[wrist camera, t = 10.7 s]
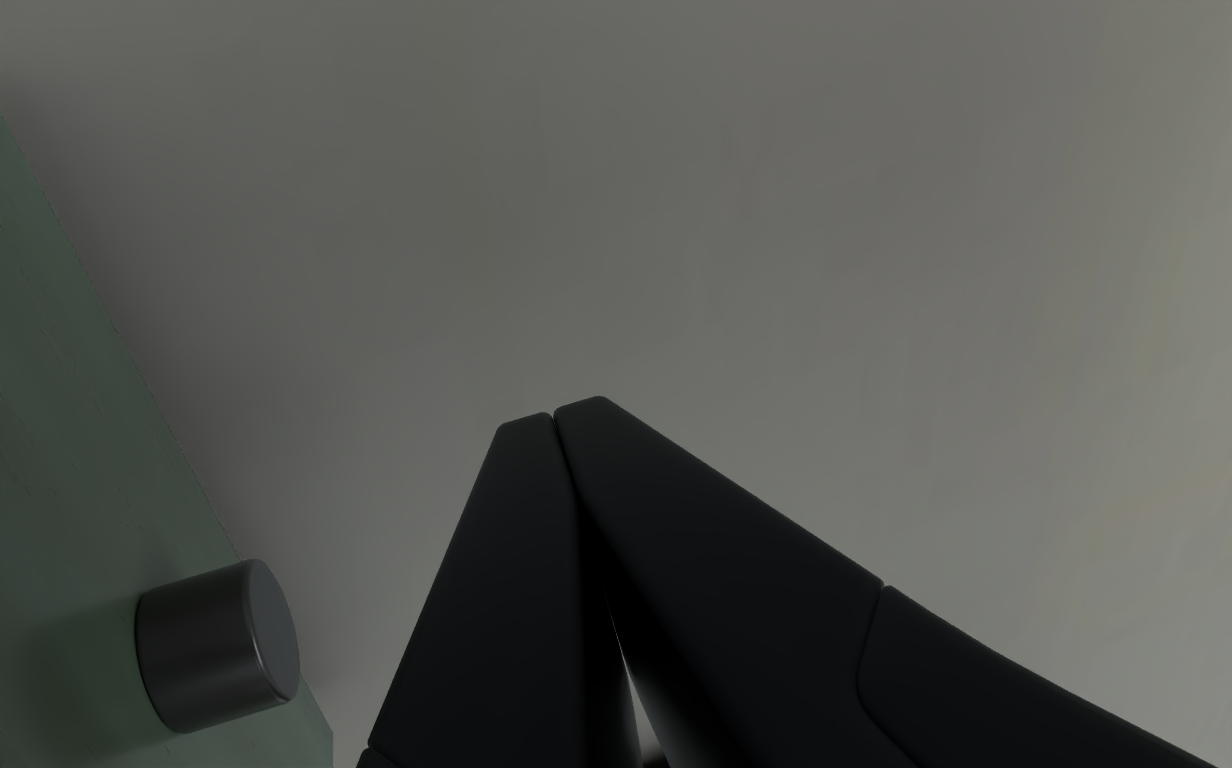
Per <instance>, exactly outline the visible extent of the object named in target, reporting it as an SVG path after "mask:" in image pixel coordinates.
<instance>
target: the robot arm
mask: <svg viewBox="0 0 1232 768" xmlns="http://www.w3.org/2000/svg"><path fill="white" fill-rule="evenodd" d="M553 418H554V421H553ZM553 418H552V416H551V415H549V414H548V413H545V412H541V413H537V414H534V415H530V416H527V417H523V418H520V419H517V420H513V421H510V422H506V423H504V424H502V425H501V426H500V427H499V428H498V429H497V431H496V433H495V436H494V438H493V441H492V443H491V445H490V448H489V450H488V453H487V455H486V457H485V460H484V462H483V465H482V467H481V469H480V472H479V474H478V477H477V479H476V481H475V484H474V486H473V489H472V491H471V493H470V496H469V498H468V501H467V503H466V506H465V508H464V510H463V513H462V515H461V518H460V520H459V522H458V525H457V527H456V530H455V532H454V534H453V537H452V539H451V542H450V544H449V546H448V549H447V551H446V554H445V556H444V558H443V561H442V563H441V566H440V568H439V571H438V573H437V575H436V578H435V580H434V583H433V585H432V587H431V590H430V592H429V595H428V597H427V599H426V602H425V604H424V607H423V609H422V611H421V614H420V616H419V619H418V621H417V623H416V626H415V628H414V631H413V633H412V635H411V638H410V640H409V643H408V645H407V647H406V650H405V652H404V655H403V657H402V659H401V662H400V664H399V667H398V669H397V672H396V674H395V676H394V679H393V681H392V684H391V686H390V688H389V691H388V693H387V696H386V698H385V700H384V703H383V705H382V708H381V710H380V712H379V715H378V717H377V720H376V722H375V724H374V727H373V729H372V732H371V734H370V736H369V739H368V746H369V748H367V749H365V750H364V751H363V752H362V754H361V756H360V759H359V761H358V764H357V766H356V768H643V763H642V757H641V751H640V745H639V738H638V732H637V726H636V719H635V713H634V707H633V701H632V696H631V691H630V686H629V680H628V676H627V672H626V668H625V664H624V661H623V657H622V653H623V656H624V659H625V662H626V665H627V668H628V671H629V674H630V677H631V679H632V681H633V684H634V686H635V689H636V691H637V694H638V696H639V698H640V701H641V703H642V705H643V708H644V710H645V712H646V714H647V716H648V719H649V721H650V723H651V725H652V728H653V730H654V732H655V734H656V736H657V739H658V741H659V743H660V745H661V747H662V750H663V752H664V754H665V756H666V758H667V761H668V763H669V764H668V765H665V766H662V767H659V768H1218V767H1216V766H1214V765H1212V764H1210V763H1208V762H1206V761H1204V760H1202V759H1200V758H1198V757H1196V756H1194V755H1192V754H1190V753H1188V752H1186V751H1184V750H1182V749H1180V748H1178V747H1176V746H1174V745H1173V744H1171V743H1169V742H1167V741H1165V740H1163V739H1161V738H1159V737H1157V736H1155V735H1153V734H1151V733H1149V732H1147V731H1145V730H1143V729H1141V728H1139V727H1137V726H1135V725H1133V724H1131V723H1129V722H1128V721H1126V720H1124V719H1122V718H1120V717H1118V716H1116V715H1114V714H1112V713H1110V712H1108V711H1106V710H1104V709H1102V708H1100V707H1098V706H1096V705H1094V704H1092V703H1090V702H1088V701H1086V700H1084V699H1083V698H1081V697H1079V696H1077V695H1075V694H1073V693H1071V692H1069V691H1067V690H1065V689H1063V688H1062V687H1060V686H1058V685H1056V684H1054V683H1052V682H1051V681H1049V680H1047V679H1045V678H1043V677H1041V676H1039V675H1038V674H1036V673H1034V672H1032V671H1030V670H1028V669H1027V668H1025V667H1023V666H1021V665H1019V664H1017V663H1016V662H1014V661H1012V660H1010V659H1008V658H1006V657H1004V656H1003V655H1001V654H999V653H997V652H995V651H993V650H992V649H990V648H989V647H987V646H985V645H984V644H982V643H980V642H979V641H977V640H976V639H974V638H972V637H971V636H969V635H968V634H966V633H964V632H963V631H961V630H959V629H958V628H956V627H955V626H953V625H951V624H950V623H948V622H946V621H945V620H943V619H942V618H940V617H938V616H937V615H935V614H934V613H932V612H930V611H929V610H927V609H926V608H924V607H923V606H921V605H920V604H918V603H917V602H915V601H914V600H912V599H911V598H909V597H908V596H906V595H905V594H903V593H902V592H900V591H899V590H897V589H896V588H894V587H892V586H885V587H884V583H883V581H882V580H881V579H880V578H878V577H877V576H875V575H874V574H872V573H871V572H869V571H868V570H866V569H865V568H863V567H862V566H860V565H859V564H857V563H856V562H854V561H852V560H851V559H849V558H848V557H846V556H845V555H843V554H842V553H840V552H839V551H837V550H836V549H834V548H833V547H831V546H830V545H828V544H827V543H825V542H824V541H822V540H821V539H819V538H818V537H816V536H815V535H813V534H812V533H810V532H809V531H807V530H806V529H804V528H803V527H801V526H800V525H798V524H797V523H795V522H794V521H792V520H790V519H789V518H787V517H786V516H784V515H783V514H781V513H780V512H778V511H777V510H775V509H774V508H772V507H771V506H769V505H768V504H766V503H765V502H763V501H762V500H760V499H759V498H757V497H756V496H754V495H753V494H751V493H750V492H748V491H747V490H745V489H744V488H742V487H741V486H739V485H738V484H736V483H735V482H733V481H731V480H730V479H728V478H727V477H725V476H724V475H722V474H721V473H719V472H718V471H716V470H715V469H713V468H712V467H710V466H709V465H707V464H706V463H704V462H703V461H701V460H700V459H698V458H697V457H695V456H694V455H692V454H691V453H689V452H688V451H686V450H685V449H683V448H682V447H680V446H679V445H677V444H676V443H674V442H672V441H671V440H669V439H668V438H666V437H665V436H663V435H662V434H660V433H659V432H657V431H656V430H654V429H653V428H651V427H650V426H648V425H647V424H645V423H644V422H642V421H641V420H639V419H638V418H636V417H635V416H633V415H632V414H630V413H629V412H627V411H626V410H624V409H623V408H621V407H620V406H618V405H617V404H615V403H613V402H612V401H610V400H609V399H607V398H606V397H603V396H595V397H591V398H588V399H584V400H581V401H578V402H574V403H571V404H568V405H564V406H561V407H559V408H557V409H556V410H555V411H554V415H553ZM554 423H555V424H554ZM555 426H556V427H555ZM609 610H610V611H609ZM610 613H611V614H610ZM611 617H612V618H611ZM612 620H613V621H612ZM613 623H614V625H613ZM614 627H615V628H614ZM615 630H616V632H615ZM616 633H617V635H616ZM617 637H618V639H617ZM618 640H619V642H618ZM619 643H620V646H619ZM620 647H621V649H620ZM621 650H622V653H621Z"/></svg>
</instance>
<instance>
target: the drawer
mask: <svg viewBox="0 0 1232 768" xmlns="http://www.w3.org/2000/svg"><path fill="white" fill-rule="evenodd" d="M0 768H333V732H332V731H331V729H330V727H329V725H328V723H327V721H326V719H325V717H324V716H323V714H322V712H321V710H320V708H319V706H318V704H317V703H316V701H315V699H314V697H313V695H312V693H311V691H310V689H309V688H308V686H307V684H306V682H305V680H304V678H303V676H302V675H301V673H300V663H299V652H298V645H297V639H296V634H295V630H294V625H293V622H292V618H291V615H290V611H289V608H288V605H287V602H286V600H285V597H284V595H283V592H282V590H281V588H280V586H279V584H278V582H277V580H276V578H275V577H274V575H273V574H272V572H271V571H270V569H269V568H268V567H267V565H266V564H264V563H263V562H262V561H260V560H257V559H249V560H246V561H243V562H241V561H240V559H239V557H238V555H237V553H236V551H235V550H234V548H233V546H232V544H231V542H230V540H229V538H228V536H227V535H226V533H225V531H224V529H223V527H222V525H221V523H220V522H219V520H218V518H217V516H216V514H215V512H214V510H213V508H212V507H211V505H210V503H209V501H208V499H207V497H206V495H205V494H204V492H203V490H202V488H201V486H200V484H199V482H198V480H197V479H196V477H195V475H194V473H193V471H192V469H191V467H190V466H189V464H188V462H187V460H186V458H185V456H184V454H183V452H182V451H181V449H180V447H179V445H178V443H177V441H176V439H175V438H174V436H173V434H172V432H171V430H170V428H169V426H168V424H167V423H166V421H165V419H164V417H163V415H162V413H161V411H160V410H159V408H158V406H157V404H156V402H155V400H154V398H153V396H152V395H151V393H150V391H149V389H148V387H147V385H146V383H145V382H144V380H143V378H142V376H141V374H140V372H139V370H138V369H137V367H136V365H135V363H134V361H133V359H132V357H131V355H130V354H129V352H128V350H127V348H126V346H125V344H124V342H123V341H122V339H121V337H120V335H119V333H118V331H117V329H116V327H115V326H114V324H113V322H112V320H111V318H110V316H109V314H108V313H107V311H106V309H105V307H104V305H103V303H102V301H101V299H100V298H99V296H98V294H97V292H96V290H95V288H94V286H93V285H92V283H91V281H90V279H89V277H88V275H87V273H86V271H85V270H84V268H83V266H82V264H81V262H80V260H79V258H78V257H77V255H76V253H75V251H74V249H73V247H72V245H71V243H70V242H69V240H68V238H67V236H66V234H65V232H64V230H63V229H62V227H61V225H60V223H59V221H58V219H57V217H56V215H55V214H54V212H53V210H52V208H51V206H50V204H49V202H48V201H47V199H46V197H45V195H44V193H43V191H42V189H41V187H40V186H39V184H38V182H37V180H36V178H35V176H34V174H33V173H32V171H31V169H30V167H29V165H28V163H27V161H26V160H25V158H24V156H23V154H22V152H21V150H20V148H19V146H18V145H17V143H16V141H15V139H14V137H13V135H12V133H11V132H10V130H9V128H8V126H7V124H6V122H5V120H4V118H3V117H2V115H1V113H0Z"/></svg>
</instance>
